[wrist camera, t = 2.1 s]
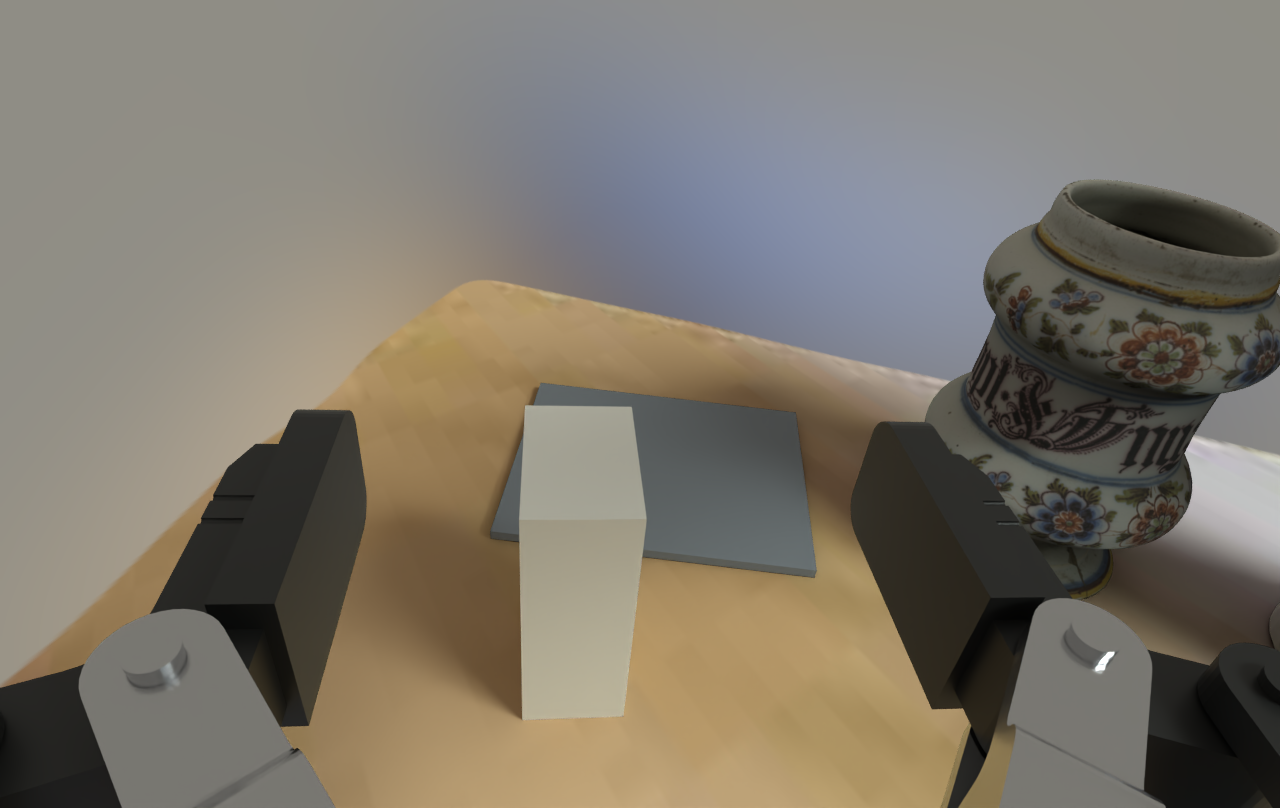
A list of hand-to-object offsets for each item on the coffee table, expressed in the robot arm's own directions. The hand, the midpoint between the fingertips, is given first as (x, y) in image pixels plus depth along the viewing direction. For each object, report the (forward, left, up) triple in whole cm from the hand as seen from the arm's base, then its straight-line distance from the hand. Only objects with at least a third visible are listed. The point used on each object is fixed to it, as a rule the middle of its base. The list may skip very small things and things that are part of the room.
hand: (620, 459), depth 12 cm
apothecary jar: (-20, -22, -21) cm, 36 cm away
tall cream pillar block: (+2, -11, -20) cm, 23 cm away
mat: (-1, -24, -20) cm, 31 cm away
